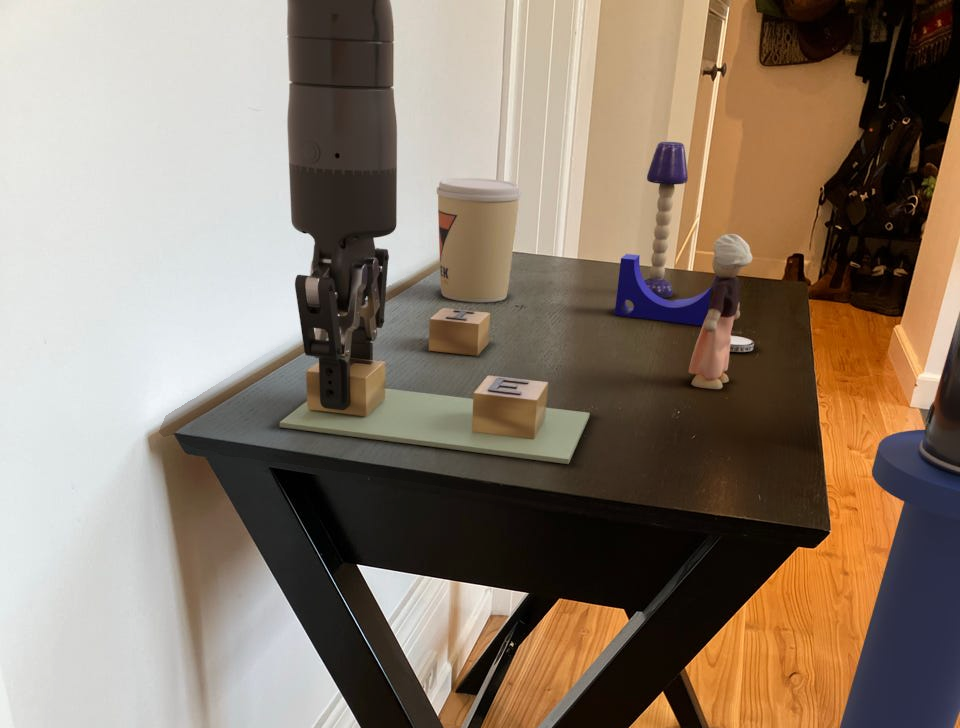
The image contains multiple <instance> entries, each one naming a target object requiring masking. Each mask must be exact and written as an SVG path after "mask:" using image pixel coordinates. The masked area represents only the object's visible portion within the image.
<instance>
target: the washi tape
mask: <svg viewBox="0 0 960 728" xmlns="http://www.w3.org/2000/svg"><path fill="white" fill-rule="evenodd" d="M754 346H755V342H754V341H753V340H752V339H750V338H747V337H742V336H738V335H737V336H736V335H731V343H730V352H733V353H734V352H736V353H746V352H752V351H753V350H754Z"/></svg>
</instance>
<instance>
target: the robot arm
mask: <svg viewBox="0 0 960 728" xmlns="http://www.w3.org/2000/svg"><path fill="white" fill-rule="evenodd" d="M286 4H287V5H286V6H287V8H286V9H287V11H286V12H287V13H286V15H287V17H286V35H287V38H286V39H287V41H286V42H287V63H288V64H287V65H288V81H289V84H288V105H287V117H286V118H287V121H286V122H287V123H286V125H287V129H286V131H287V149H288V151H287V152H288V172H289V173H288V175H289V176H288V177H289V195H290V197H289V198H290V218H291V219H290V220H291V221H290V222H291V224H292V226H293V228H294V229H295V230H296V231H298V232H300V233H301V234H308V235H309V236H311V238H312V239H313V242H314V244H313V253H312V254H313V255H312V260H311V262H310V263H311V264H310V272H309V275H304V274H297V275H296V277H295V280H294V289H295V297H296V303H297V310H298V316H299V323H300V331H301V337H302V343H303V350H304V354H305V356H308V357H314V358H315V359H318V362H319V381H320V403H321V405H322V406H323V407H324V408H327V409H335V410H345V409H346V408H348V407H349V406H350V360H349V358H356V359H365V360H374V343H373V342H375V341H376V340H377V336H378V329H382V328H383V327H384V323H385V308H386V297H387V296H386V294H387V284H388V283H387V282H388V269H389V259H390V254H389V250H388V249H387V248H381V247H380V248H379V247H376V245H375V239H376V238H381V237H387V236H389V235H390V234H393V233H394V232H395V230H396V228H397V224H398V223H397V220H398V219H397V216H398V215H397V214H398V212H397V210H398V208H397V206H398V205H397V203H398V201H397V200H398V199H397V198H398V196H397V194H398V193H397V192H398V125H397V124H398V122H397V113H396V105H395V104H396V103H395V90H394V88H393V87H394V78H395V77H394V71H395V70H394V68H395V67H394V65H395V64H394V62H395V60H394V59H395V58H394V57H395V55H394V54H395V46H394V45H395V43H394V41H395V31H394V16H393V7H392V2H391V0H286ZM926 423H927V424H926ZM925 424H926V425H925V428H924V430H925V433H924V437H923V440H922V441H921V443H920V447H919V450H918V453H919V455H920V457H921V458H922V459H923V460H924V461H925V462H927V463H928V464H930V465H932V466H934V467H936V468H938V469H940V470H943V471H945V472H947V473H950V474H954V475H957V476H960V311H959V312H958V316H957V320H956V323H955V326H954V330H953V334H952V337H951V339H950V344H949V346H948V350H947V355H946V357H945V362H944V364H943V367H942V372H941V375H940V378H939V381H938V386H937V389H936V392H935V396H934V399H933V401H932V403H931V404H930V406H929V408H928V413H927V416H926V420H925Z"/></svg>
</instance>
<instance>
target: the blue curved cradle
mask: <svg viewBox="0 0 960 728" xmlns="http://www.w3.org/2000/svg"><path fill="white" fill-rule="evenodd" d="M640 257H641V255H640V254H631V253H625V254H624V255H623V256H622V257H620V263H619V264H620V265H619V271H618V272H619V273H618V280H617V289H616V297H615V308H614V315H615V316H621V317H622V316H623V317H630V318H638V319H645V320H653V321H654V320H655V321H663V322H670V323H678V324H685V325H695V326H701V327H702V326H703V323H704V321H705V318H706V316H707V314H708V309H709V301H710V293H711V289H712V286H713V285H714V283H715V282H716V280H717V278H718V276H717V275H715V278H714V280H713V283H712V285H711V286H710V287H709V288H707V289H706V290H705V291H703V292H702V293H700V294H698V295H696V296H693V297H690V298H689V297H688V298H684V299H683V298H682V299H678V298H676V299H675V300H674V301H671V300H667V299H666V298H660V297H659V296H657V295H656V294H654V293H653V292H652V291H651V290H650V289H649V288H648V286H647V285H646V283H645V282H644V280H645V279H644V278H643V275H642V271H641V266H640V265H641V264H640ZM626 301H630V302H631V303H632V306H633V308H632V307H629V306H628V305H627V304H626V303H627V302H626Z"/></svg>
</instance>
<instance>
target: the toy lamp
mask: <svg viewBox="0 0 960 728" xmlns="http://www.w3.org/2000/svg"><path fill="white" fill-rule="evenodd" d="M687 166H688V165H687V157H686V149H685V145H684V143H682V142H677V141H660V142H659V143H657V145H656V148H655V151H654V154H653V156H652V160H651V162H650V165H649V168H648V172H647V175H646V180H647V182H649V183H652V184H659V186H658V196H659V197H658V199H657V203H656V207H657V212H656V215H655V223H656V224H655V227H654V231H653V235H654V240H653V242H652V251H653V252H652V255H651V259H650V260H651V267H650V269H649V277H648V278H646V279H644V282H645V283H646V285H647V286H648V288H649V289H650V290H651V291H652V292H653V293H654V294H656V295H657V296H659V297H660V298H662V299H669V298H671V297H673V296H674V292H673V287H672V284H671V283H670V281H668V280H667V279H665V278H664V277H665V274H666V268H665V264H666V262H667V251H668V248H669V241H668V238H669V236H670V233H671V229H670V228H671V227H670V224H671V221H672V212H671V211H672V209H673V205H674V199H673V196H674V194H675V188H676V187H675V185H684V184H686V183H687V182H688V180H689V179H688V177H689V176H688V175H689V174H688V167H687Z"/></svg>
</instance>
